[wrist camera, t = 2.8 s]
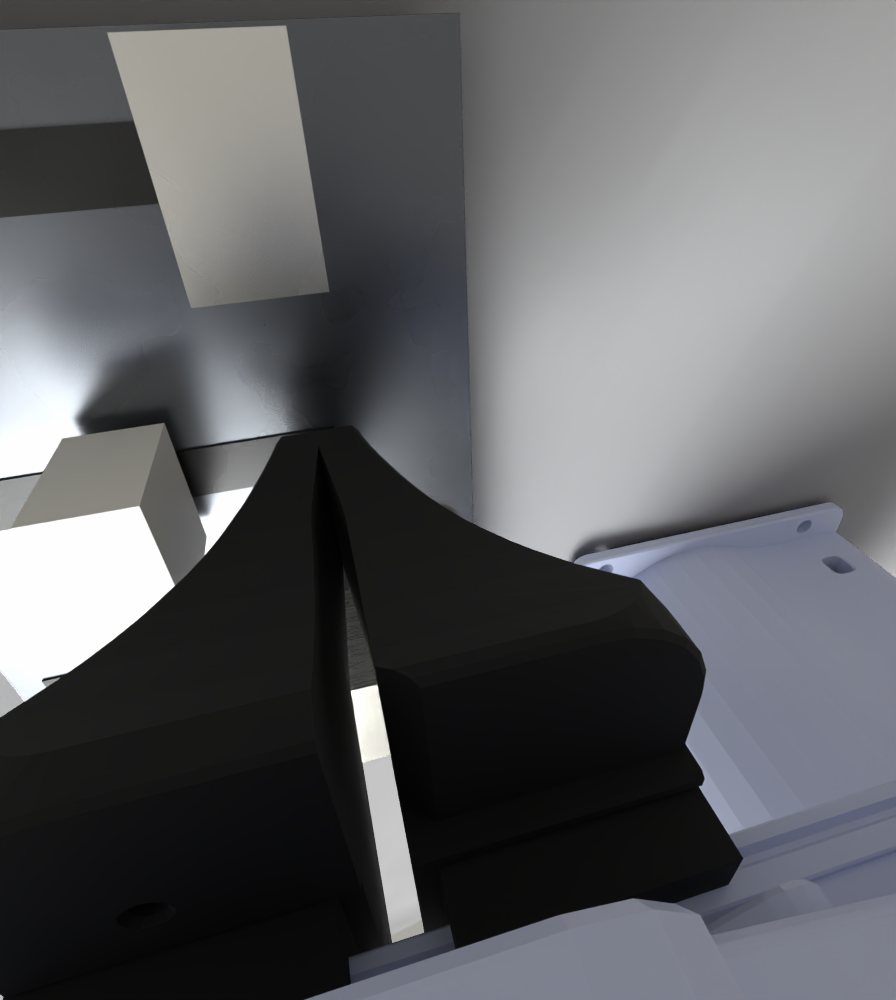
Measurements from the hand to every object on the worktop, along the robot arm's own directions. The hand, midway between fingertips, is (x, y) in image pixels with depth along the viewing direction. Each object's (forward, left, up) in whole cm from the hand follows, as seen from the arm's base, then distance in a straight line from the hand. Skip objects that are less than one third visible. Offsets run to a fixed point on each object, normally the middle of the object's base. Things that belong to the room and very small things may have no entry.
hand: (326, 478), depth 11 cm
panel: (+2, 0, -3) cm, 4 cm away
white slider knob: (+3, 0, -1) cm, 3 cm away
